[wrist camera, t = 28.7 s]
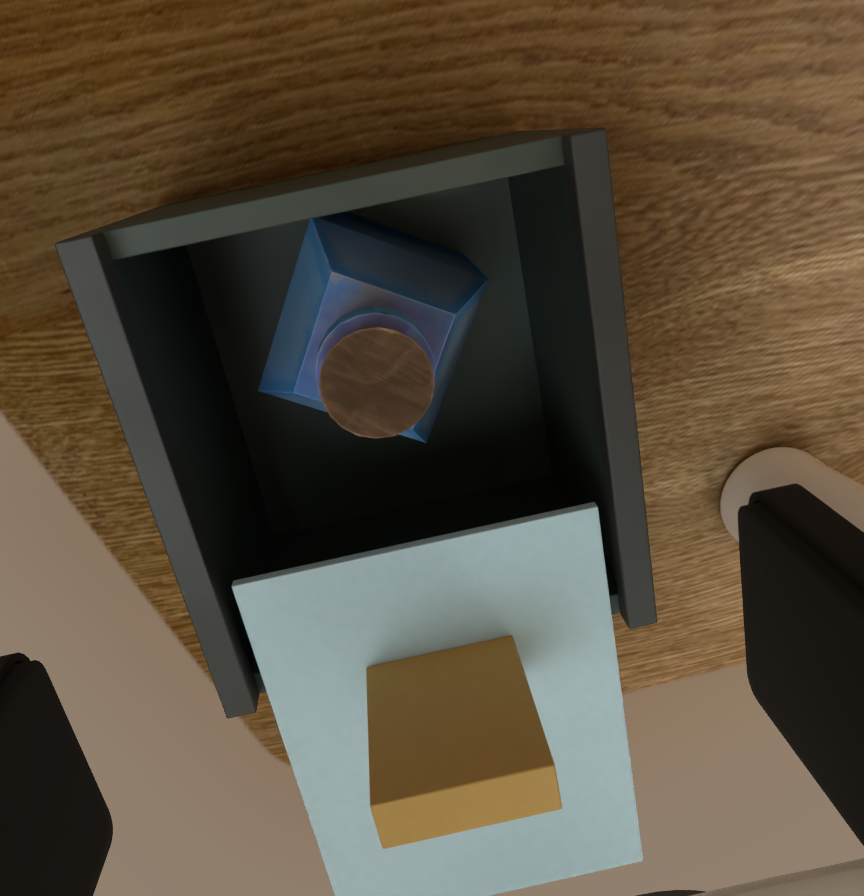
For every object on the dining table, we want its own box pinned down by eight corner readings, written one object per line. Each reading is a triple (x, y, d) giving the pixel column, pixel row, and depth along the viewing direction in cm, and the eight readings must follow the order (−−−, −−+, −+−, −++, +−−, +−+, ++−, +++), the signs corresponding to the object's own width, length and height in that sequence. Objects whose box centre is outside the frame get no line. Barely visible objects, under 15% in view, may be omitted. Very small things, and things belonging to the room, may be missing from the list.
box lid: (640, 852, 31) (707, 1019, 25) (345, 919, 31) (344, 1103, 25) (594, 501, 26) (668, 610, 20) (232, 580, 25) (196, 715, 19)
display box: (567, 480, 38) (658, 623, 27) (263, 546, 37) (227, 719, 26) (517, 131, 32) (606, 127, 21) (158, 206, 32) (53, 243, 21)
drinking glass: (698, 441, 38) (903, 620, 24) (837, 416, 38) (1122, 579, 24) (702, 565, 40) (889, 793, 26) (832, 541, 40) (1087, 754, 26)
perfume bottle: (274, 347, 33) (235, 452, 22) (318, 201, 31) (300, 235, 20) (413, 392, 35) (443, 513, 23) (464, 254, 33) (523, 314, 22)
